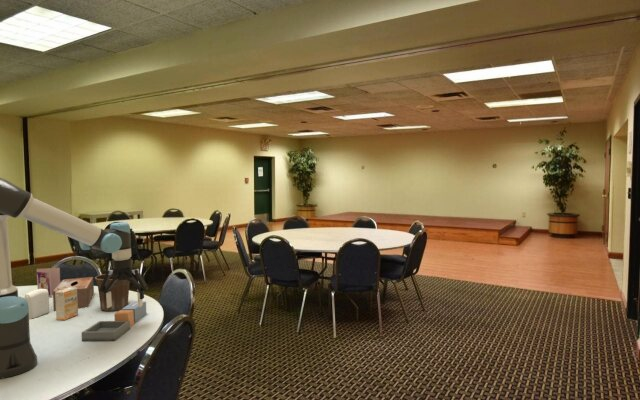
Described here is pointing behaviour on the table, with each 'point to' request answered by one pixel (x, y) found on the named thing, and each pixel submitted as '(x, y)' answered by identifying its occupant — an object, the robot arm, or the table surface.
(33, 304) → the photo printer
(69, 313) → the supplement box
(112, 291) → the plant pot
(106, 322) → the tray
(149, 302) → the table surface
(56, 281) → the pink box
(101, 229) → the robot arm
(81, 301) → the tissue box cover
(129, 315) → the stub
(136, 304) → the block
